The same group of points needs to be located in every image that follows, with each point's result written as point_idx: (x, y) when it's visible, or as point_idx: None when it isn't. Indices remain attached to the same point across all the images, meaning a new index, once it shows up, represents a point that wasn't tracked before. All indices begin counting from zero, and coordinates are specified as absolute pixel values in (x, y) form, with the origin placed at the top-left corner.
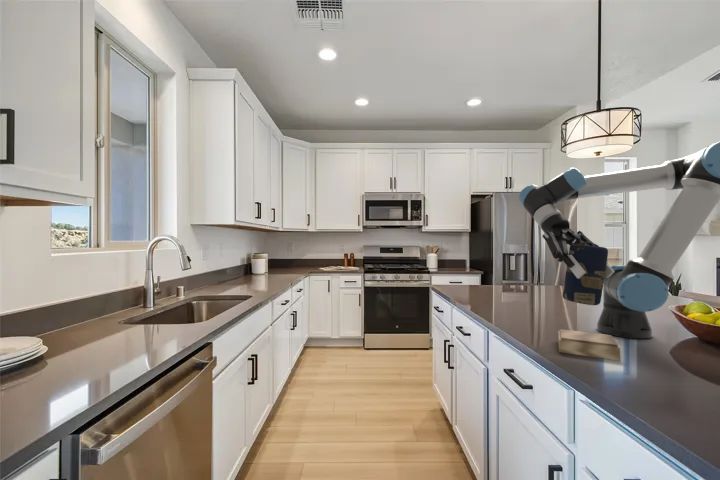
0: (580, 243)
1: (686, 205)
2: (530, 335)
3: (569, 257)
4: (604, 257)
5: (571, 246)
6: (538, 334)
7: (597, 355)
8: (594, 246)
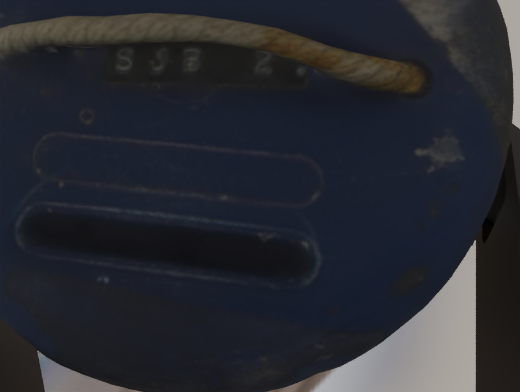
0: (389, 61)
1: None
2: (315, 380)
3: None
4: None
5: (503, 166)
6: (278, 389)
7: None
8: None
